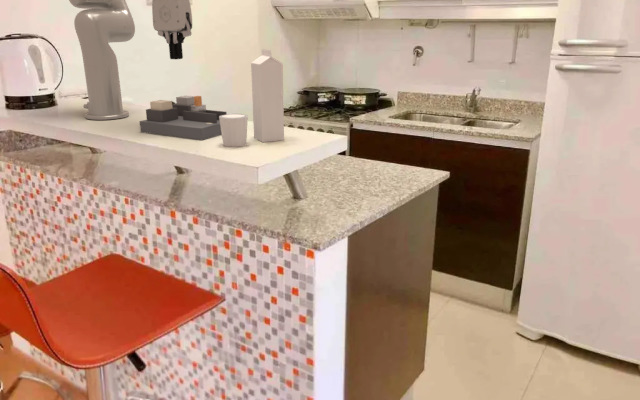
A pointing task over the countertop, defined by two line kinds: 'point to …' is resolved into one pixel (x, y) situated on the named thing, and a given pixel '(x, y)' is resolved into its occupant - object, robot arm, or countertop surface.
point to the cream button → (161, 105)
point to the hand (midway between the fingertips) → (176, 58)
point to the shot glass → (234, 129)
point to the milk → (267, 98)
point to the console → (182, 122)
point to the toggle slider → (198, 105)
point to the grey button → (185, 100)
